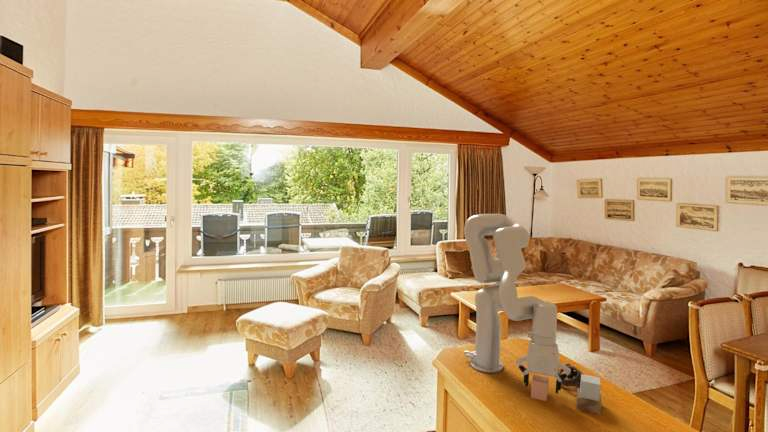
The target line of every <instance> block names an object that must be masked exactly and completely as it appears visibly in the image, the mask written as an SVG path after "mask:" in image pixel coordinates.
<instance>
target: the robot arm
mask: <svg viewBox="0 0 768 432" xmlns="http://www.w3.org/2000/svg"><path fill="white" fill-rule="evenodd" d="M463 234H464V239H465V242H466V245H467V247H468V250H469V251H468V252H469V256H470V257H469V258H470V260H471V266H472V267H471V268H472V270H473V271H472V272H473V275H474V278H475V281H477V282H478V283H479V284H492V283H495V285H490V286H484V287H481V288H480V289H478V290H477V292H476V293H475V296H474V304H475V310H476V311H475V312H476V323H475V343H474V344H475V346H474V350H472V351H471V350H466V349H465V350H464V352H463V355H464V356H465V358H467V359H470V362H469V364H470V366H471V367H472V368H473V369H475V370H477V371H479V372H483V373H492V374H495V373H499V372H501V371H502V370H503V369H504V364H503V362H502V361H501V360H500V357H501V339H502V320H501V317H500V315H499V312H500V311H504V313H505V316H506V317H507V318H508V319H510V320H512V321H514V322H517V321H523V320H529V319H532V327H531V328H532V330H531V332H530V333H527V338H530V340H529V343H528V347H527V351H526V352H527V354H526V355H525V356H523V357H519V358H516V360H515V362H516V364H517V366H518V369H519V370H520V371H521V372H522V374H523V383H524V384H525V388H527V387H528V386H529V383H530V379H529V378H530V373H533V374H537V375H544V376H548V377H549V376H550V377H555V379H556V382H555V393H556V394H559V391H562V390H561V389H562V388H561V387H562V385H561V382H562V380H564V379H567V376H568V375H569V373H570V372H571V369H570V368H568V367H567V366H565V365H566V364H564V363H562V362H561V361H560V351H559V345H558V344H557V328H558V327H557V326H558V324H557V322H558V307H557V305H556V304H555V303H552V302H549V301H545V300H543V299H541V298H539V297H537V296H534V295H529V296H527V295H526V296H524V297H523V296H522V297H518V291H517V286H516V281H517V278H518V277H519V275H520V274H521V273H522V272H523V271H525V269H526V268H527V264H526V261H525V258H524V255H523V252H522V249H524V248H526V247H527V246H528V245H529V243H530V240H531V239H530V235H529V232H528V230H527V229H526V227H524V226H523V225H522V224H521V223H518V222H516V220H514V219H512V218H510V217H508V216H507V215H506V214H502V213H479V214H474V215H472V216H469V218H468V219H466V221H465V223H464V228H463ZM485 236H492V240H493V243H494V247H495V250H496V253H497V257H494V256H493V250H492V247H491V244H490V243H489V242H488V240H487V239H486V238H485ZM522 363H526V367H525V366H524V365H523V364H522ZM561 368H562V369H563V370H565V371H563V372H562V373H561V374H560V373H559V370H560V369H561Z"/></svg>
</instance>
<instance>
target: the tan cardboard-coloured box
mask: <svg viewBox="0 0 768 432" xmlns="http://www.w3.org/2000/svg"><path fill="white" fill-rule="evenodd" d="M576 389H577V390H576V400H575V401H576V405H575V406H576V409H577V410H581V411H584V412H588V413H589V412H590V413H593V414H597V415H602V414H601V413H602V412H601V411H602V394H601V392H600V400H599V401H595V400H591V399H586V398H581V397H580V387H578V388H576Z"/></svg>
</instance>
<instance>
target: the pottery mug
mask: <svg viewBox="0 0 768 432" xmlns="http://www.w3.org/2000/svg"><path fill="white" fill-rule="evenodd" d="M564 365H565V366H567V367H568V368H570V369H571V372H570V373H569V375H568V376H567V378H565V379H564V380H562V382H561V386H563V387H568V388H569V387H578V388H580V384H579V383H580V382H581V374H584V373H583V372H582V371H581V370H580V369H578V367H576V366H574V365H572V364H571V363H566V364H564ZM564 372H565V370H563V369H562V368H559V373H560V374H563V373H564Z"/></svg>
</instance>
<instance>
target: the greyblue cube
mask: <svg viewBox="0 0 768 432" xmlns="http://www.w3.org/2000/svg"><path fill="white" fill-rule="evenodd" d="M601 386H602V385H601V379H600V377H598V376H593V375H588V374H584V373H583V374H581V382H580V384H579V389H580V397H581V398H586V399H591V400H595V401H599V400H600V393H601V388H602V387H601Z"/></svg>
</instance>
